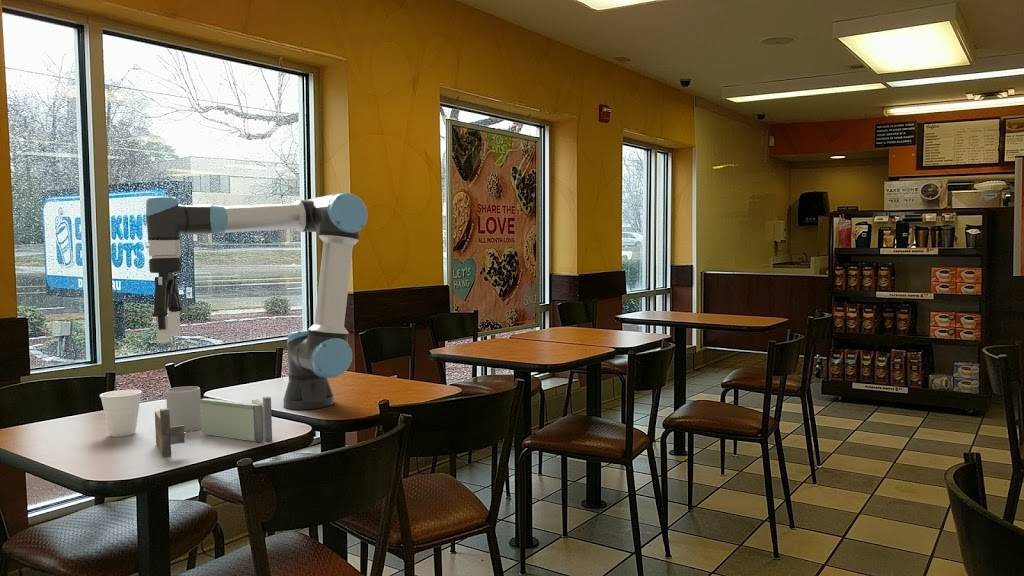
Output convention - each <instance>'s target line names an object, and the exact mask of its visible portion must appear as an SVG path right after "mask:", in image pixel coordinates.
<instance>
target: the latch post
mask: <svg viewBox="0 0 1024 576" xmlns="http://www.w3.org/2000/svg"><path fill="white" fill-rule="evenodd" d="M154 422H155V423H154V424H155V425H154V426H155V444H156V446H157V448H158V449H159V451H160V452H161V457H162V458H167V457H172V445H176V444H184V443H186V440H185V438H186V437H185V435H186V434H185V433H184V425H180V426H172V427H170V414H169V409H168V408H167V407H166V408H159V410H156V411H154Z"/></svg>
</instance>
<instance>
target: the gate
mask: <svg viewBox="0 0 1024 576" xmlns="http://www.w3.org/2000/svg"><path fill="white" fill-rule="evenodd" d="M200 403H201V421H202V428H201V434H202V435H208V436H209V435H210V436H216V437H222V438H224V437H225V438H229V439H231V438H232V439H236V440H243V441H251V442H256V443H261V442H264V439H263V415H262V405H258V404H252V402H251V403H250V402H241V401H232V400H225V399H215V398H201V399H200Z"/></svg>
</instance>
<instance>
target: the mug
mask: <svg viewBox="0 0 1024 576" xmlns="http://www.w3.org/2000/svg"><path fill="white" fill-rule="evenodd" d="M165 393H166V394H165V398H166V400H165V401H166V408H168V409H169V414H170V427H172V426H180V425H184V432H186V433H192V432H196V431H199V430H202V421H201V403H200V399H202V398H201V388H200V387H199V386H192V385H190V386H188V385H187V386H177V387H171V388H168V389H166V391H165ZM195 430H196V431H195ZM191 431H192V432H191Z"/></svg>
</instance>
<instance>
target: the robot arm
mask: <svg viewBox="0 0 1024 576" xmlns="http://www.w3.org/2000/svg"><path fill="white" fill-rule="evenodd" d="M145 205H146V207H145V210H146V211H145V212H146V213H145V219H146V228H147V229H146V231H147V240H148V242H147V243H148V244H146V245H145V248H146V249H148V256H149V257H151V258H150V259H149V260H148V267H149V268H148V269H149V272H150V273H151V274H158V276H155V277H154V299H153V301H154V303H153V313H151V315H152V316H151V317H153V318H155V322H156V340H157V341H156V342H157V343H158V344H161V343H162V344H163V343H170V342H171V341H170V340H171V339H170V337H181V336H182V334H181V333H182V332H181V317H180V315H181V314H180V312H183V307H182V305H181V301H180V300H181V299H180V294H179V287H178V281H177V279H178V276H177V275H176V274H174V273H180V272H182V258H180V256H181V255H182V251H181V249H182V248H181V238H180V237H181V236H180V235H184V236H194V235H209V234H213V235H215V234H226V233H244V232H245V233H246V232H261V231H262V232H264V231H266V232H267V231H279V230H296V231H297V232H298V233H305V232H306V233H318V237H319V239H320V240H321V241H322V249H321V250H322V253H321V261H320V269H319V276H318V277H319V279H318V290H317V297H316V305H315V306H316V307H315V316H314V322H313V324H312V325H311V326H310V327H309V328H308V330H301V331H298V330H297V331H292V332H289V333H288V335H287V342H286V348H287V368H288V370H287V371H288V382H287V385H286V389H285V393H284V396H283V401H282V402H283V407H284V409H285V408H286V409H291V410H313V409H321V408H325V407H330V406H332V405H334V404H335V395H334V392H333V390H332V387H331V384H330V381H329V378H330V379H332V378H337V377H340V376H341V375H343V374H344V373H345V372H346V371H347V370H348V369H349V367H350V366H351V363H352V360H353V351H352V348H351V346H350V344H349V342H348V341H349V333H350V332H349V331H348V330H347V328H345V323H346V322H345V321H346V320H345V319H346V313H347V312H346V310H347V305H348V303H347V302H348V292H349V286H350V285H349V284H350V275H351V266H352V265H351V264H352V259H353V258H352V257H353V247H354V245H356V244H357V243H358V242H359V241H360V234H361V230H362V229H363V228H364V227H365V226H366V224H367V221H368V217H369V216H368V215H369V213H368V209H367V206H366V204H365V203H364V201H363V200H362V199H361V198H360V197H359V196H358V195H356V194H354V193H350V192H337V193H334V194H327V195H322V196H319V197H315V198H309V199H301V200H300V199H299V200H298V199H297V200H296V201H295V202H294V203H283V204H282V203H281V204H279V203H278V204H253V205H252V204H251V205H227V206H223V205H218V204H217V205H215V204H191V205H190V204H187V205H186V204H185V205H184V204H180V203H179V201H178V198H177V197H175V196H151V197H149V198H147V199H146V204H145Z"/></svg>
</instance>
